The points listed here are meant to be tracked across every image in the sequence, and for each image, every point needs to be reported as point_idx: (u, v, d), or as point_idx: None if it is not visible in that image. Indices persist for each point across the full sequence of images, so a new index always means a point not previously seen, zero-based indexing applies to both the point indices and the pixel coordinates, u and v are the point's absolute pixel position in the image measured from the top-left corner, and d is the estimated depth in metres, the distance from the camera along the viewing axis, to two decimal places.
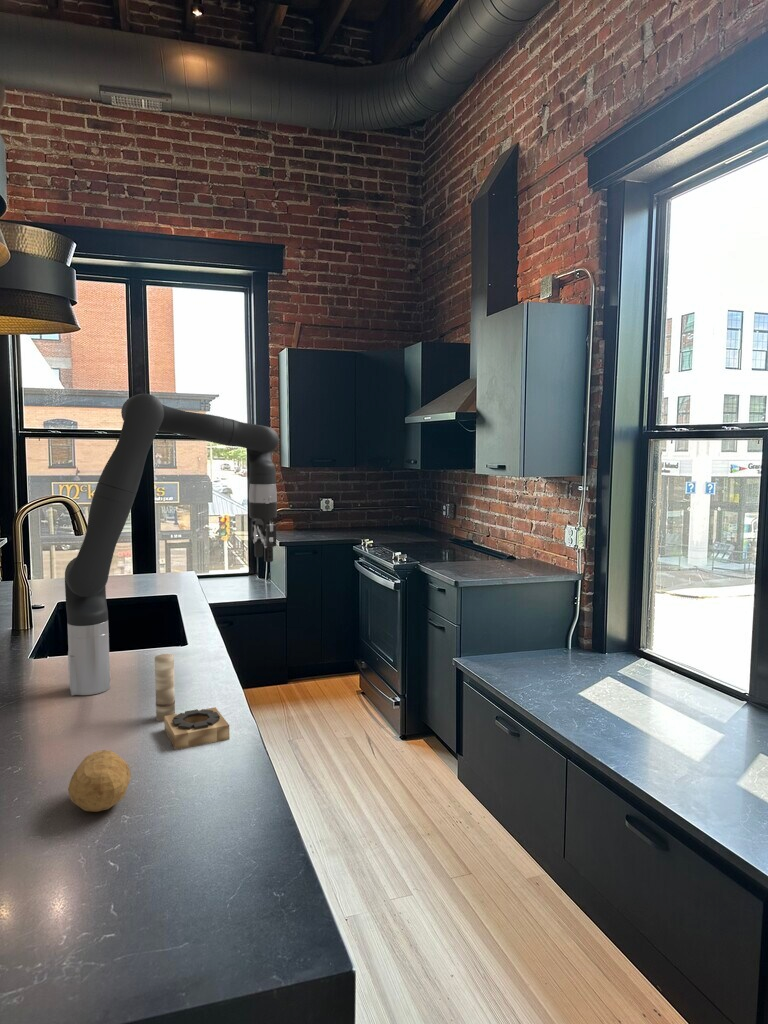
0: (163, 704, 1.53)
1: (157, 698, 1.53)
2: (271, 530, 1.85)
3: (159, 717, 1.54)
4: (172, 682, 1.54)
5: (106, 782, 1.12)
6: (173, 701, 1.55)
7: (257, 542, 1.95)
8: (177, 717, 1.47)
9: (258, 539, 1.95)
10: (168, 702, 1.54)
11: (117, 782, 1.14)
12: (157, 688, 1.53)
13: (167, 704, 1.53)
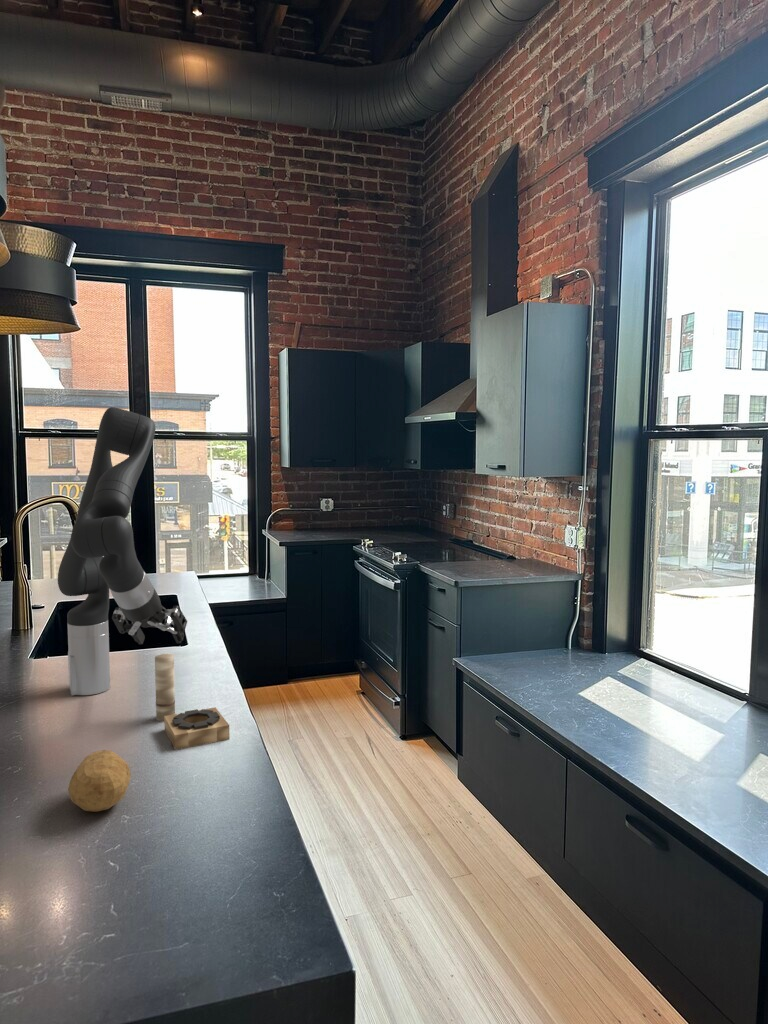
0: (163, 704, 1.53)
1: (157, 698, 1.53)
2: None
3: (159, 717, 1.54)
4: (172, 682, 1.54)
5: (106, 782, 1.12)
6: (174, 701, 1.55)
7: None
8: (177, 717, 1.47)
9: (174, 626, 1.46)
10: (168, 702, 1.54)
11: (117, 782, 1.14)
12: (157, 688, 1.53)
13: (167, 704, 1.53)
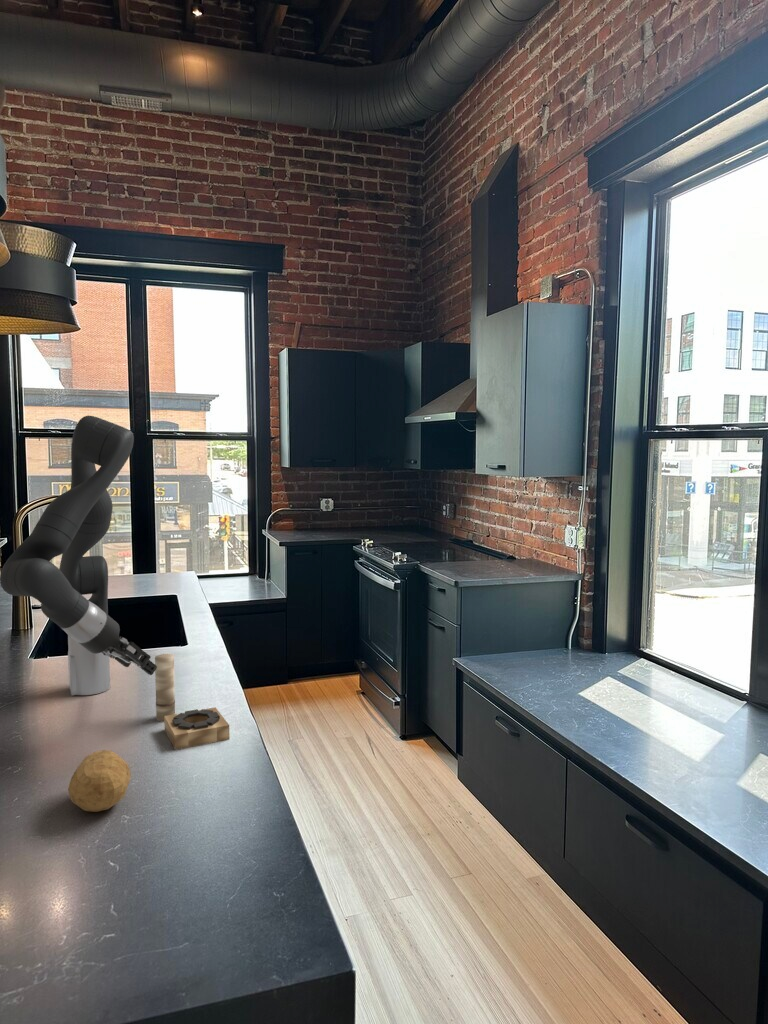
0: (163, 704, 1.53)
1: (157, 698, 1.53)
2: None
3: (159, 717, 1.54)
4: (172, 682, 1.54)
5: (106, 782, 1.12)
6: (174, 701, 1.55)
7: None
8: (177, 717, 1.47)
9: (139, 659, 1.44)
10: (168, 702, 1.54)
11: (117, 782, 1.14)
12: (157, 688, 1.53)
13: (167, 704, 1.53)
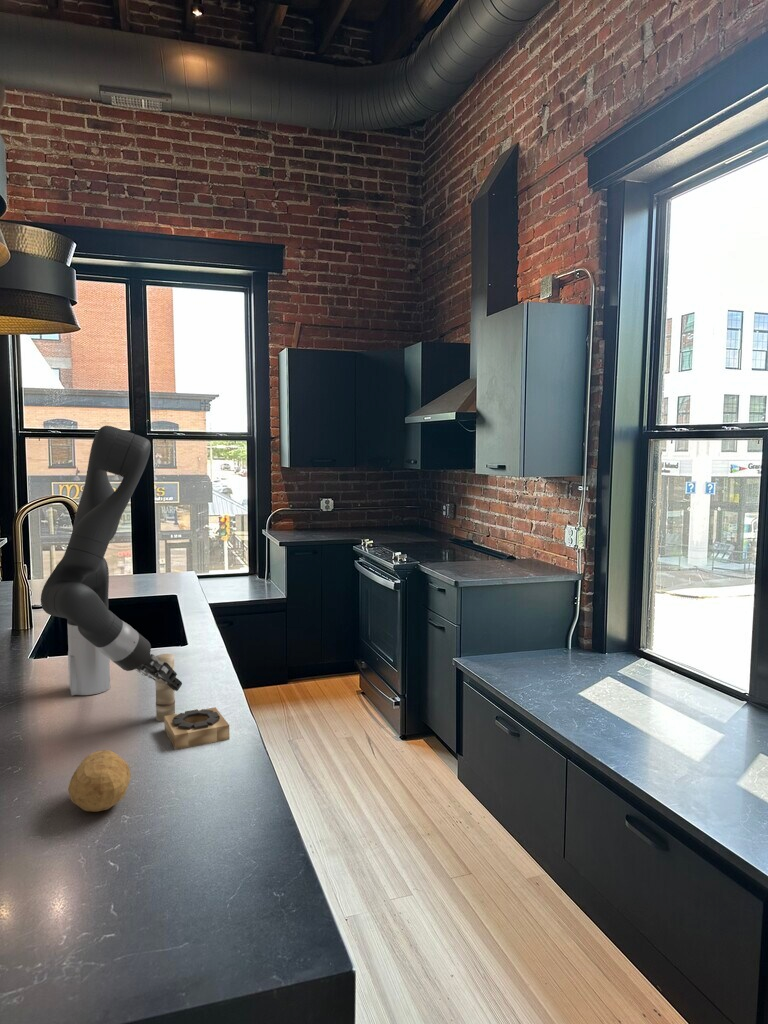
0: (163, 704, 1.53)
1: (157, 698, 1.53)
2: None
3: (159, 717, 1.54)
4: None
5: (106, 782, 1.12)
6: (174, 701, 1.55)
7: None
8: (177, 717, 1.47)
9: None
10: (168, 702, 1.54)
11: (117, 782, 1.14)
12: (157, 688, 1.53)
13: (167, 704, 1.53)
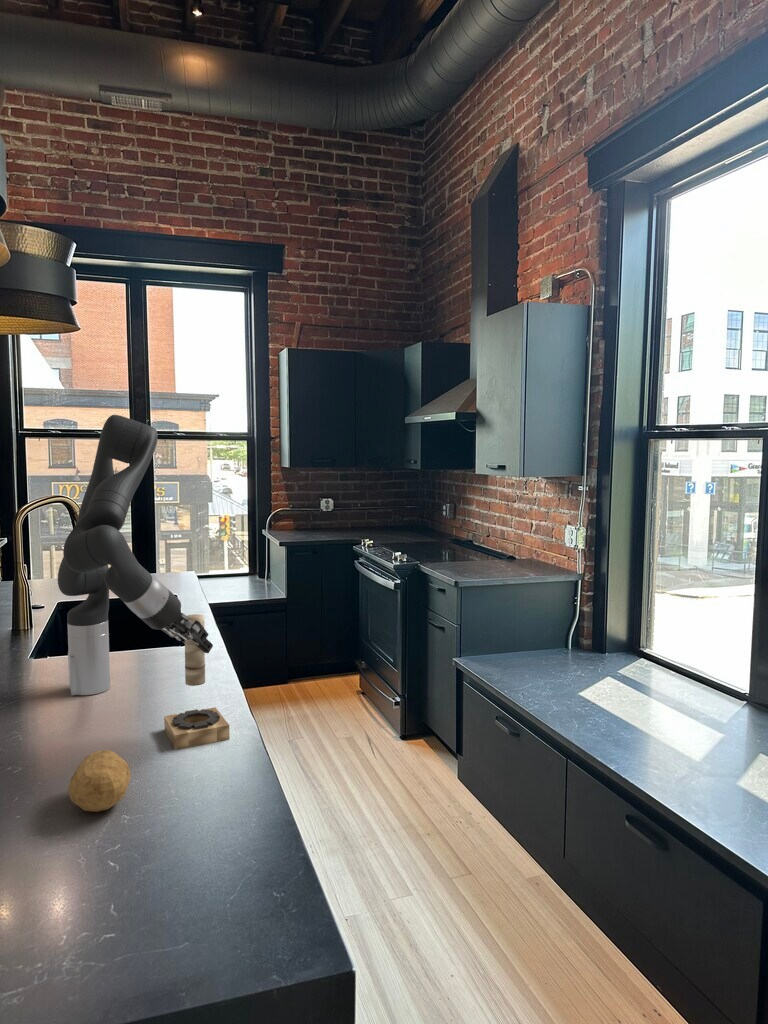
0: (193, 667, 1.43)
1: (187, 661, 1.44)
2: None
3: (189, 681, 1.44)
4: None
5: (106, 782, 1.12)
6: (204, 665, 1.45)
7: None
8: (177, 717, 1.47)
9: None
10: (198, 665, 1.44)
11: (117, 782, 1.14)
12: (187, 650, 1.43)
13: (197, 667, 1.44)
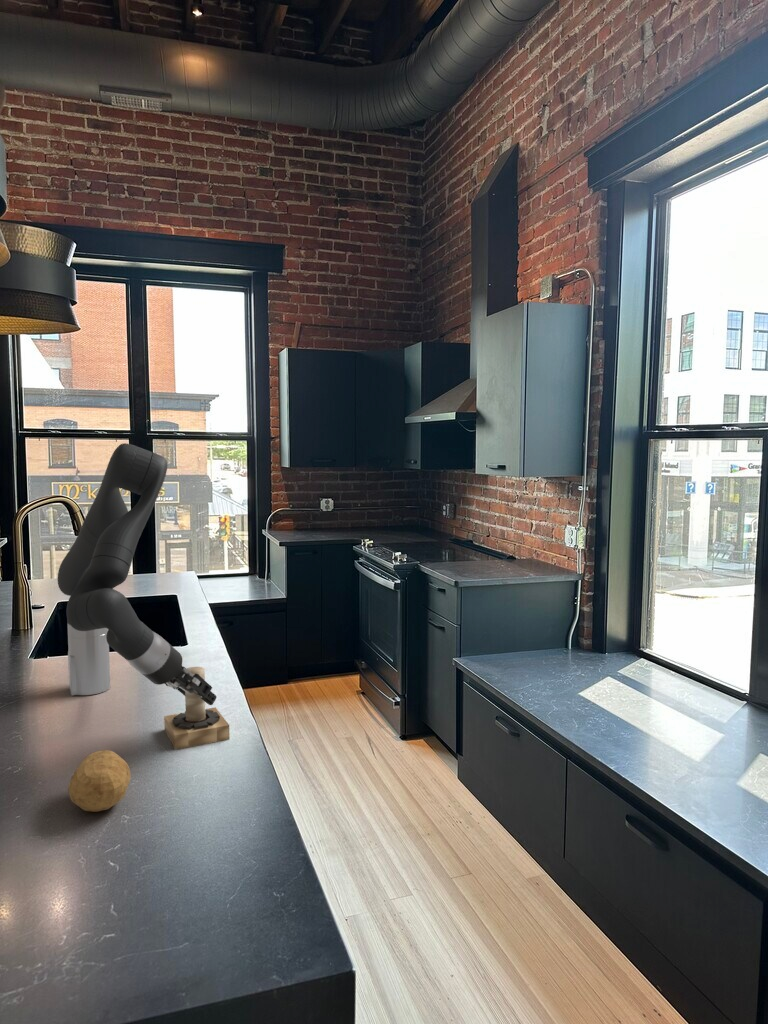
0: (194, 720, 1.44)
1: (187, 714, 1.45)
2: None
3: None
4: None
5: (106, 782, 1.12)
6: (204, 717, 1.46)
7: None
8: (177, 717, 1.47)
9: None
10: (199, 718, 1.45)
11: (117, 782, 1.14)
12: (187, 703, 1.44)
13: (198, 720, 1.45)
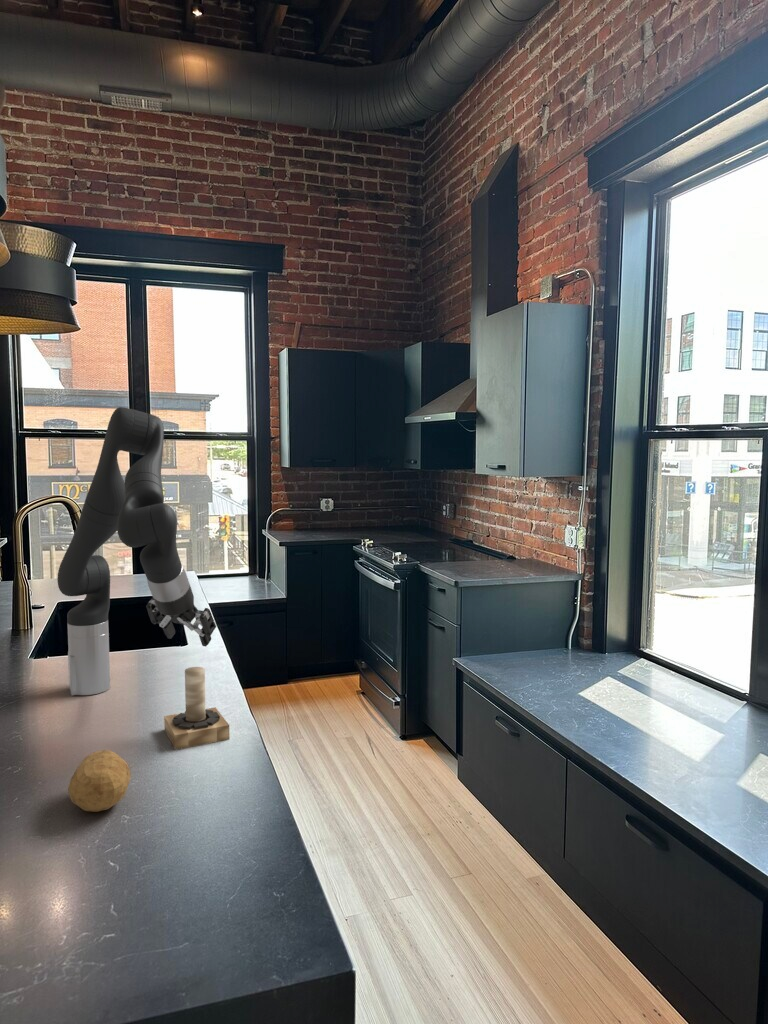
0: (194, 720, 1.44)
1: (187, 714, 1.45)
2: None
3: None
4: (203, 697, 1.45)
5: (106, 782, 1.12)
6: (204, 717, 1.46)
7: None
8: (177, 717, 1.47)
9: (202, 628, 1.46)
10: (199, 718, 1.45)
11: (117, 782, 1.14)
12: (187, 703, 1.44)
13: (198, 720, 1.45)
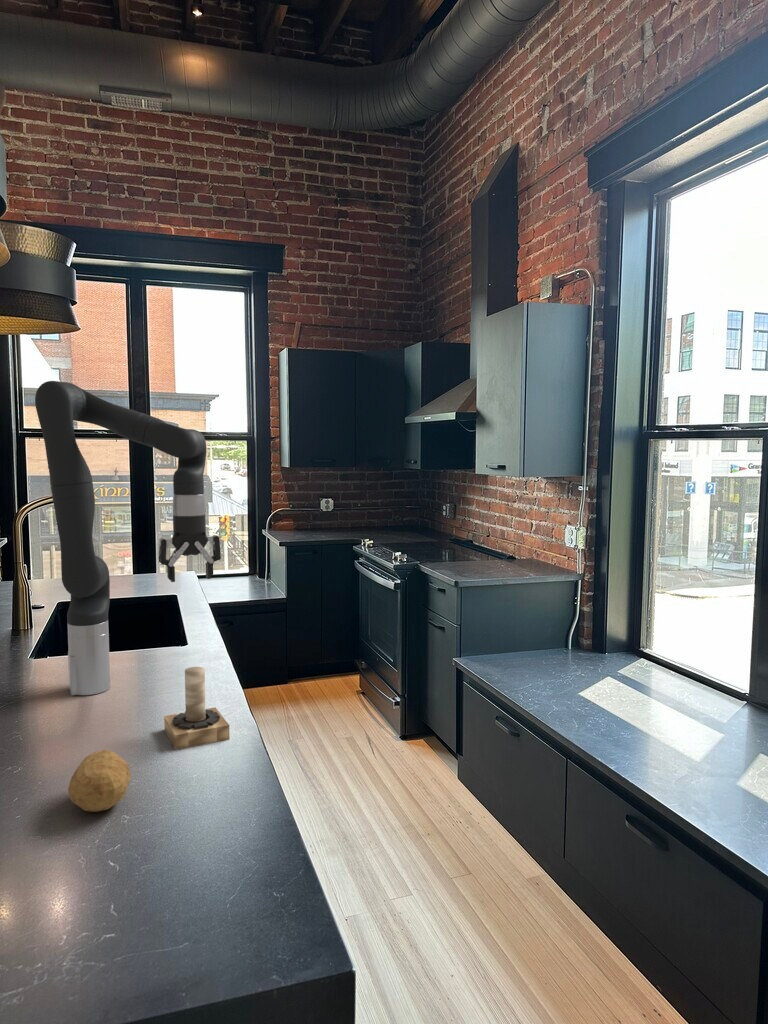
0: (194, 720, 1.44)
1: (187, 714, 1.45)
2: (160, 545, 1.64)
3: None
4: (203, 697, 1.45)
5: (106, 782, 1.12)
6: (204, 717, 1.46)
7: (207, 561, 1.70)
8: (177, 717, 1.47)
9: None
10: (199, 718, 1.45)
11: (117, 782, 1.14)
12: (187, 703, 1.44)
13: (198, 720, 1.45)
